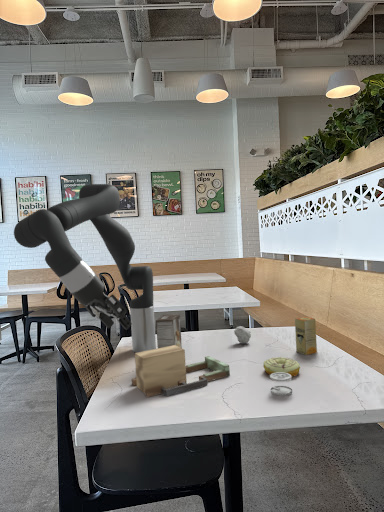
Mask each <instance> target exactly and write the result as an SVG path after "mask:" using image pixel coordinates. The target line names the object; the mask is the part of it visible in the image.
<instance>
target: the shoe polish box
mask: <svg viewBox="0 0 384 512" xmlns="http://www.w3.org/2000/svg"><path fill="white" fill-rule="evenodd" d="M316 325H317V324H316V318H313V317H309V316H303V317H296V318H294V330H295V346H296V347H295V349H296V350H295V351H296V353H299V354H302V355H306V356H308V355H312V354H316V353H318V350H317V349H318V348H317V347H318V344H317V328H316V327H317V326H316Z"/></svg>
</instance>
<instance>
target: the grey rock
mask: <svg viewBox="0 0 384 512" xmlns="http://www.w3.org/2000/svg"><path fill="white" fill-rule="evenodd" d="M233 333H234V335H235V337H236V338H237V341H238V342H239V343H240V344H242V345H245V344H247V343H249V341H250V339H251V336H252V334H251V333H252V332H251V331H250V330H249V328H248V329H247V328H246V327H244V326H243V325H242V326H241V325H239V326H236V327H235V329H234V330H233Z"/></svg>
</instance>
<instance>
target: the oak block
mask: <svg viewBox="0 0 384 512" xmlns="http://www.w3.org/2000/svg"><path fill="white" fill-rule="evenodd" d="M185 351H186V349H184V348H183V347H182V348H180V347H178V346H176V345H173V346H168V347H163V348H158V347H157V348H156V349H153V350H148V351H143V352H138V353H135V352H134V360H135V361H134V362H135V378H136V380H137V385H136V388H138V389H139V390H140V391H141V392H143V393H144V394H145V390H146V389H150V388H154V387H158V386H163V387H164V388H166V389H169V388H173V387H176V386H178V381H182V380H185V381H186V383H187V384H188V382H187V373H186V365H187V364H186V353H185Z"/></svg>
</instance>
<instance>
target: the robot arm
mask: <svg viewBox="0 0 384 512" xmlns="http://www.w3.org/2000/svg"><path fill="white" fill-rule="evenodd" d="M120 202H121V196H120V192H119V190H118V188H117V187H116V186H115V185H113V184H109V183H92V184H91V183H90V184H85V185H83V186H81V188H80V189H79V191H78V198H75V199H69V200H66V201H65V200H64V201H63V202H59V203H57V204H55V205H52V206H50V207H49V208H47V209H44V208H40V209H37V210H36V211H34V212H33V213H30V214H29V215H28V216H26V217H24V218H23V219H21V220H19V221H18V222H17V223H16V225H15V226H14V230H13V236H14V239H15V241H16V242H17V243H18V244H19V245H20V246H22V247H24V248H28V249H33V248H38V247H40V246H41V245H43V244H45V243H46V242H47V243H48V245H49V248H50V250H49V251H48V252H47V253H46V255H45V256H44V257H45V258H44V261H45V263H46V264H47V266H48V267H49V268H50V270H52V271H53V273H54V274H55V275H56V276H57V277H58V278H59V280H60V281H61V283H62V284H63V286H64V287H65V288H66V289H67V290H68V291H69V292H70V294H71V295H72V297H74V298H75V299H76V300H77V302H78V303H79V304H80V305H82V306H83V307H84V308H85V309H86V310H87V312H88V313H89V315H90V316H91V317H93V318H96V319H97V320H100V322H102V323H103V324H104V325H105V327H106V328H107V329H111V328H112V327H113V325H114V324H115V322H114V320H113V319H112V318H111V317H113V318H114V319H115V320H117V322H118V323H119V325H121V326H122V328H123V329H124V330H131V342H132V343H131V346H132V352H133V353H134V354H135V353H138V352H143V351H148V350H153V349H157V343H156V342H157V337H156V321H155V311H154V310H155V309H154V306H155V305H154V274H153V270H152V267H151V266H149V265H141V266H140V265H139V266H137V265H136V266H133V265H131V263H130V262H131V260H132V258H133V256H134V254H135V251H136V245H135V242H134V240H133V238H132V235H131V233H130V232H129V230H128V229H127V228H126V227H125V226H124V225H122V223H120V222H118V221H116V220H115V219H114V218H113V217H111V216H110V215H111V214H114V213H115V212H117V210H118V209H119V208H120V207H119V206H120ZM89 220H90V222H91V224H93V226H94V227H95V229H96V230H97V232H98V234H99V235H100V237H101V239H102V240H103V242H104V245H105V247H106V249H107V251H108V253H109V254H110V255H111V256H112V259H113V261H114V263H115V265H116V266H117V268H118V270H119V271H118V272H119V273H120V276H121V278H122V281H123V284H124V285H125V287H126V288H127V289H128V290H131V291H136V290H137V291H139V290H140V291H141V290H142V294H141V295H139V296H138V297H136V298H133V299H131V300H130V301H129V310H130V311H129V312H130V319H129V318H128V317H127V315H126V314H127V312H128V310H127V308H125V306H124V305H123V304H122V303H121V302H120V301H119V299H118V298H117V297H116V296H115V295H114V294H113V293H112V294H111V295H110V296H109V295H107V294H105V293H104V290H105V288H106V287H105V284H104V282H103V280H101V279H100V277H98V275H97V274H96V272H95V271H94V270H93V269H92V268H91V266H90V265H89V264H88V263H87V262H85V261H84V260H83V258H82V257H81V256H80V255H79V253H78V252H77V251H76V250H75V249H74V248H73V246H72V245H71V244H72V243H70V240H69V237H68V236H67V234H66V232H67V231H69V230H71V229H73V228H74V227H77V226H78V225H81V224H82V223H85V222H87V221H88V222H89ZM130 328H131V329H130Z"/></svg>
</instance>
